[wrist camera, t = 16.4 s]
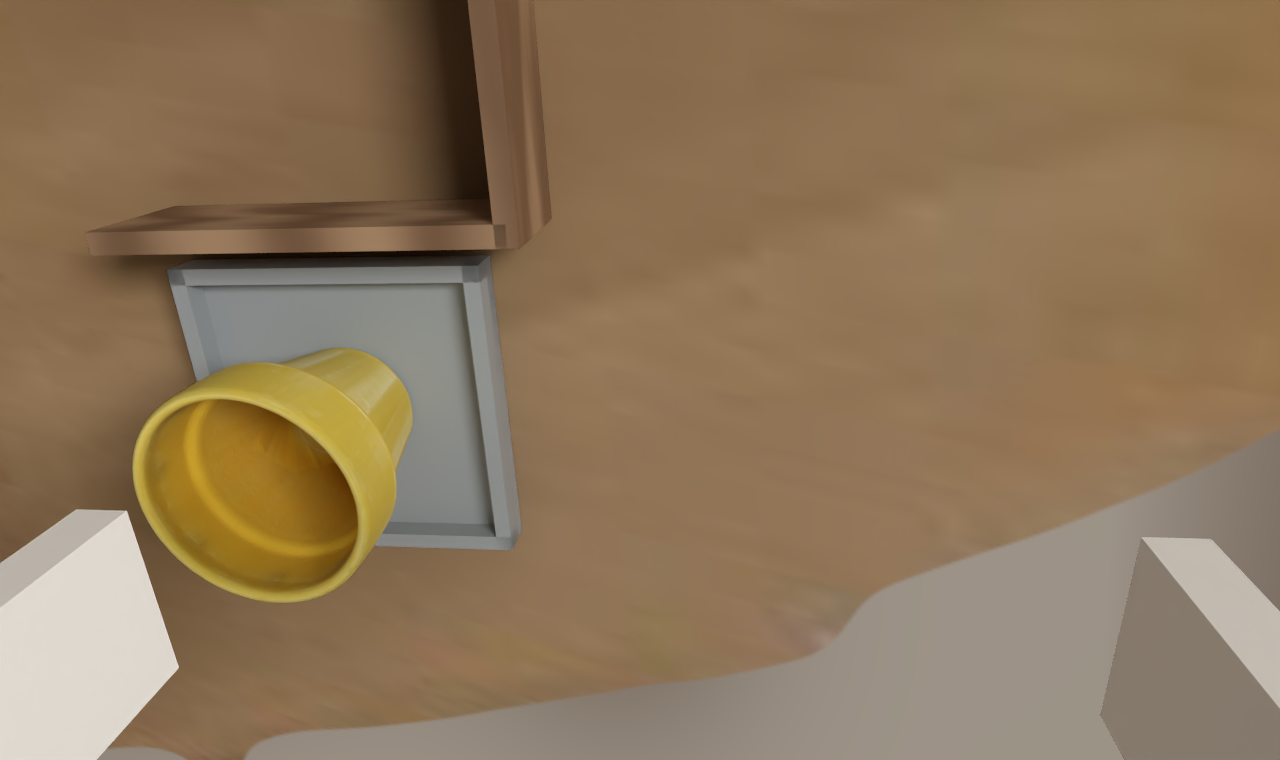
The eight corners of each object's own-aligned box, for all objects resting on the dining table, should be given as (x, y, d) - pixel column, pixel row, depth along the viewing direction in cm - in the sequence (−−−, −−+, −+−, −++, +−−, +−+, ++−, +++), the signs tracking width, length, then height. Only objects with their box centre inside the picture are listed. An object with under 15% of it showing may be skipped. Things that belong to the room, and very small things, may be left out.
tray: (260, 522, 47) (240, 541, 45) (191, 259, 41) (166, 269, 39) (521, 529, 45) (512, 550, 43) (489, 255, 39) (477, 265, 37)
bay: (179, 226, 40) (91, 255, 35) (88, -122, 35) (-35, -153, 29) (551, 218, 38) (519, 248, 33) (519, -156, 32) (474, -196, 27)
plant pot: (272, 484, 45) (156, 595, 36) (241, 306, 41) (101, 381, 32) (454, 499, 44) (380, 617, 35) (440, 318, 40) (353, 399, 31)
